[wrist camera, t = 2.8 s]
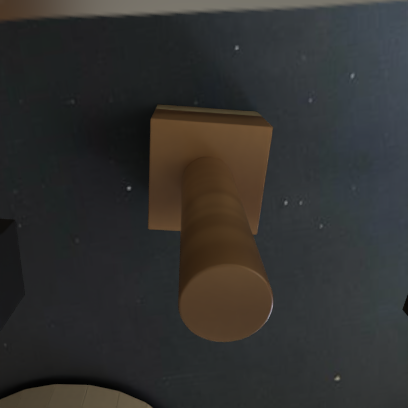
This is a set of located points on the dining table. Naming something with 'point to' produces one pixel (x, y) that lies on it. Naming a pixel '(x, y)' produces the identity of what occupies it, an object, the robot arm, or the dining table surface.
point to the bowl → (71, 398)
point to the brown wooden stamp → (213, 213)
